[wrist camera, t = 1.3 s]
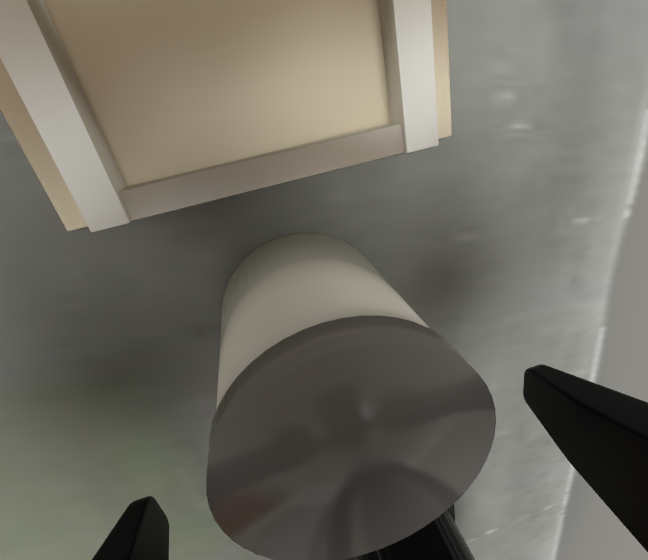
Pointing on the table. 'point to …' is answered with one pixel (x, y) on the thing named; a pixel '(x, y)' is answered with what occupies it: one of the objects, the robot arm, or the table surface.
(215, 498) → the jar
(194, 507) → the table surface
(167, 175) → the lane
